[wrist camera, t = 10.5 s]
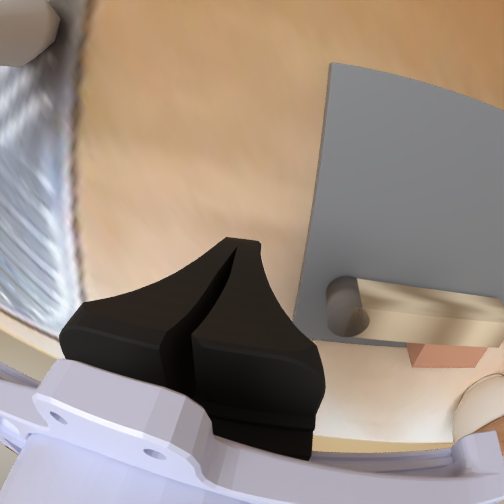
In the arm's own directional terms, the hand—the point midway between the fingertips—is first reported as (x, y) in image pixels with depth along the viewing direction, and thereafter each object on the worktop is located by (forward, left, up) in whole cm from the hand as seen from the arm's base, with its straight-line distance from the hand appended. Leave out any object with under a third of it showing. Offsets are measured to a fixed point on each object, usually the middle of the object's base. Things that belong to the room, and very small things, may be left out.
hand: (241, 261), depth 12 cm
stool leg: (-6, -12, -7) cm, 15 cm away
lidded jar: (-20, -28, -10) cm, 36 cm away
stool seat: (-2, -12, -9) cm, 15 cm away
